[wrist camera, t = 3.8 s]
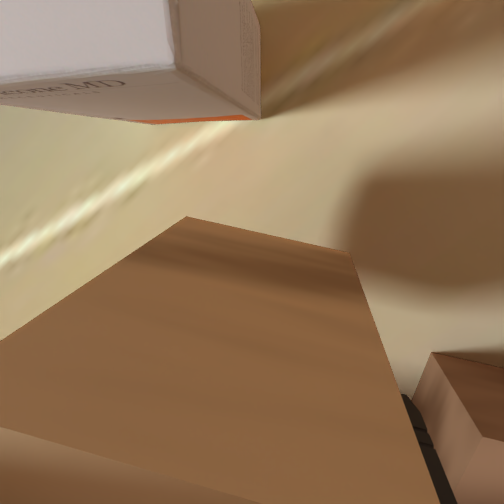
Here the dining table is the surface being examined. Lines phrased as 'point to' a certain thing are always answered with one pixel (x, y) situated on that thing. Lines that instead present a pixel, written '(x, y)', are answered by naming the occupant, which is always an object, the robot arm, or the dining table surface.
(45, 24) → the skincare box
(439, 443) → the base block
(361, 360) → the oak block
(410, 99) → the dining table surface
